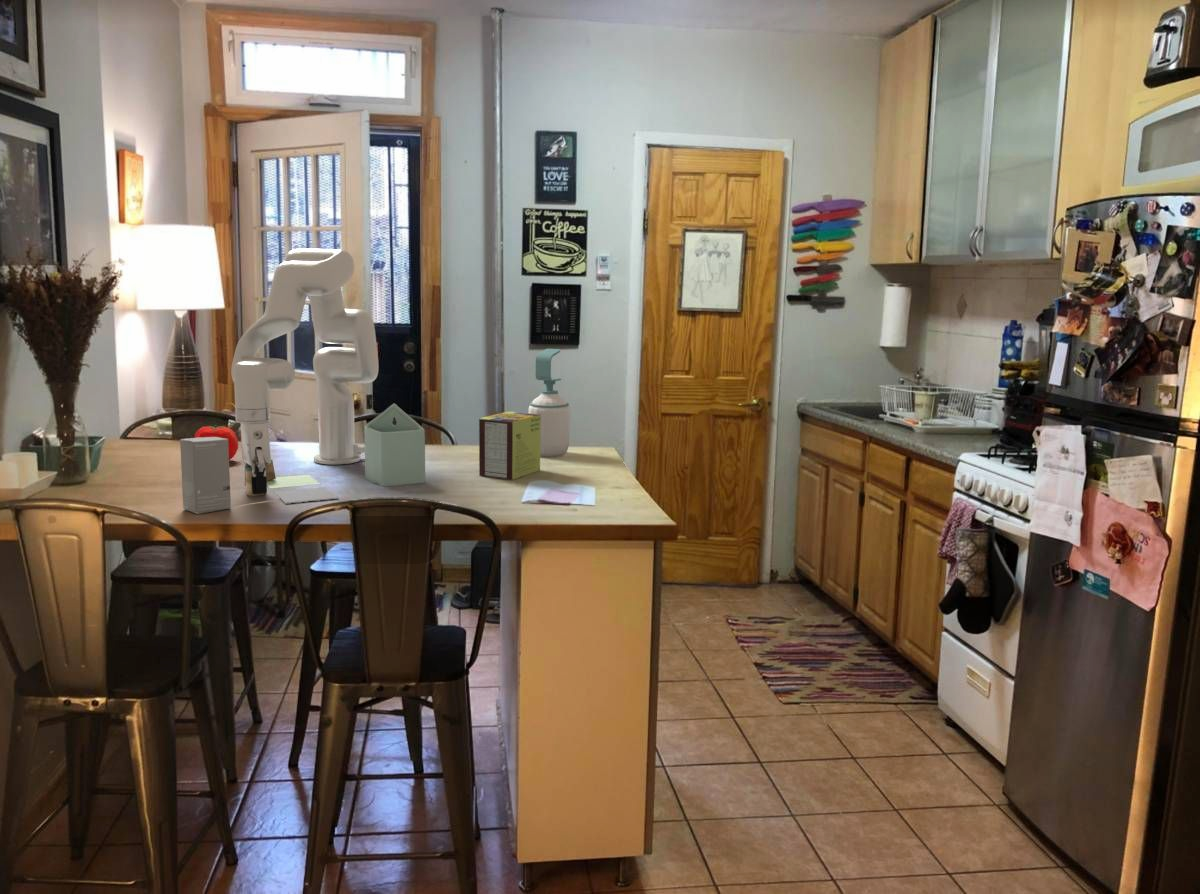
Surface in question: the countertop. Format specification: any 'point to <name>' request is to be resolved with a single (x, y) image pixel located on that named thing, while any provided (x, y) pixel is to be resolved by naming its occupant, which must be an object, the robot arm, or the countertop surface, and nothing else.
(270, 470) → the walnut block
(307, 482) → the mat
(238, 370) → the robot arm
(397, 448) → the planter
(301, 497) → the grey square tile
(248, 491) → the green lidded jar
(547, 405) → the soap bottle
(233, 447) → the tomato
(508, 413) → the protein box
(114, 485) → the countertop surface
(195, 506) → the skincare box
